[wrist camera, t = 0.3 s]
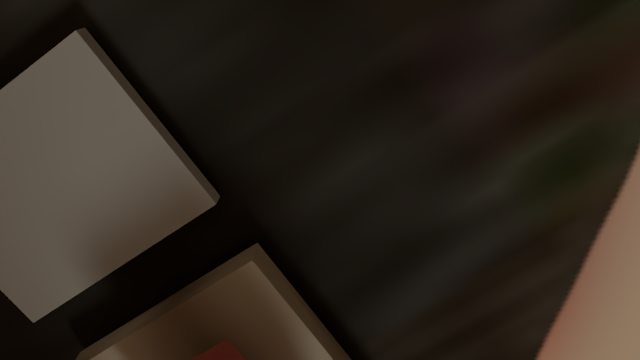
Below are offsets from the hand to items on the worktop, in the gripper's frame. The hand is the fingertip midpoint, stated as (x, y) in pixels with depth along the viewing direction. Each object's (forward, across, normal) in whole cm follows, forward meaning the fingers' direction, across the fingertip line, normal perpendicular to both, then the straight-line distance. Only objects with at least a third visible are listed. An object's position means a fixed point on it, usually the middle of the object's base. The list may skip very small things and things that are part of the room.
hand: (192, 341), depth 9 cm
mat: (+13, +9, +7) cm, 17 cm away
